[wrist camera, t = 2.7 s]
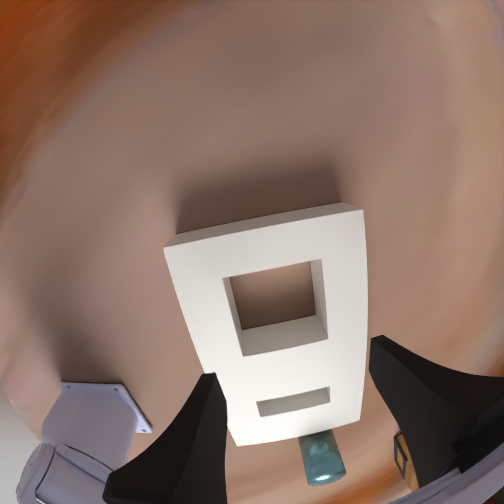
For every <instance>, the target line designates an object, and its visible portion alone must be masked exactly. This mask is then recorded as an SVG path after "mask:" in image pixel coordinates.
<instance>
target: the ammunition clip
mask: <svg viewBox="0 0 504 504" xmlns="http://www.w3.org/2000/svg"><path fill="white" fill-rule="evenodd" d="M394 458H395V462H396V464H397V466H398V468H399V470H400V472H401V474H402V476H403V478H404V479H405V480H406V482H407V485H408V487H409V489H410V490H411V491H412V492H414V491H416V490H418V489H419V486H418V482H417V477H416V473H415V470H414V466H413V463H412V460H411V456H410V453H409V451H408V448H407V445H406V442H405V440H404V437H403V435H402V433H401V434H399V435H397V436H395V437H394Z"/></svg>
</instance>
